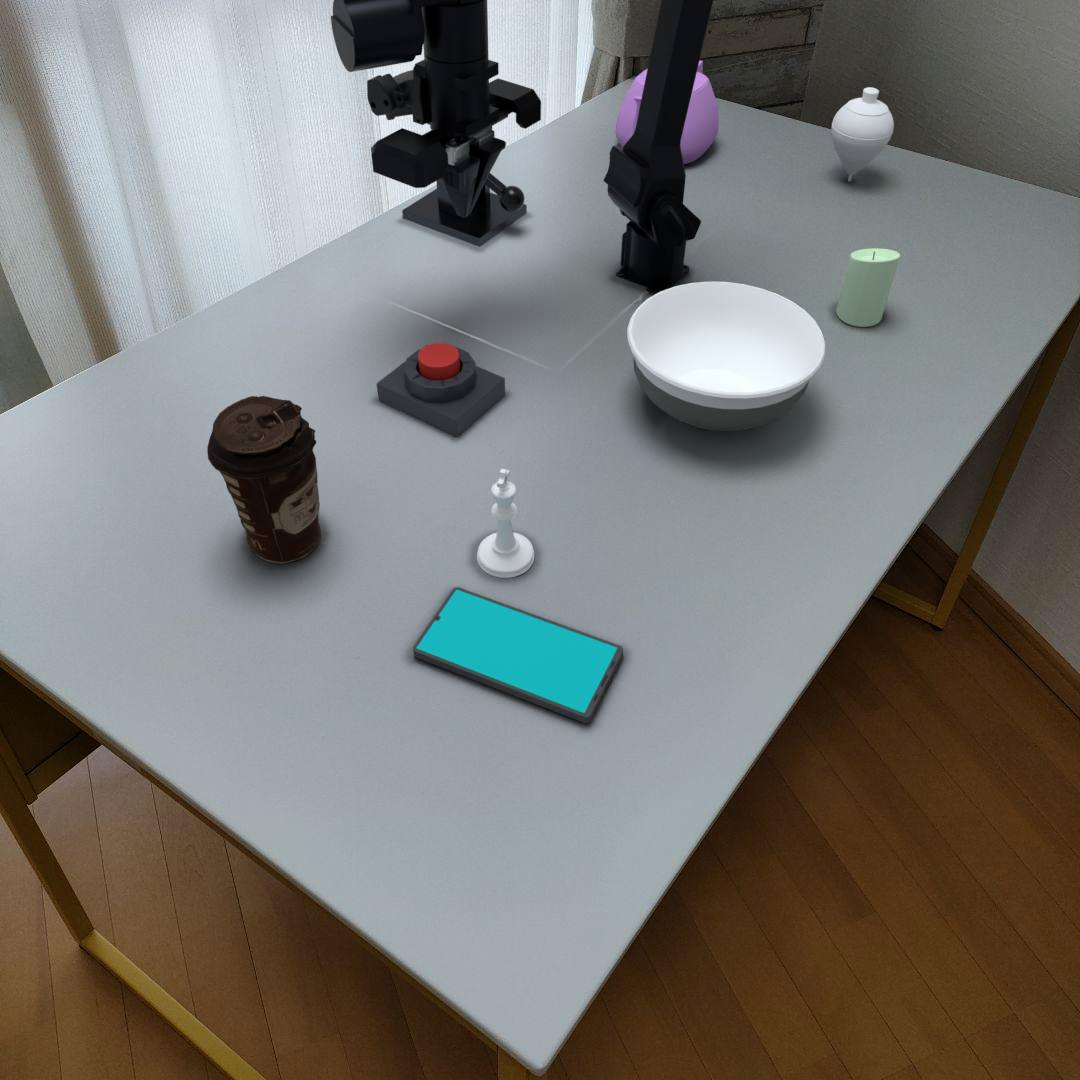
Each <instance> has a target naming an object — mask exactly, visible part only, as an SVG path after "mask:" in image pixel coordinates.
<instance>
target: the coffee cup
mask: <svg viewBox="0 0 1080 1080" xmlns="http://www.w3.org/2000/svg"><path fill="white" fill-rule="evenodd" d="M302 410H303V408H302V407H301V406H300V405H298V404H295V403H293V402H292V400H289V399H288V400H287V399H282V398H281V399H280V398H275V397H271V396H266V395H261V396H257V395H252V396H251V395H250V396H248V397H245V398H241V399H240V400H237V401H236V402H233V403H232V404H230V405H228V406H226V408H224V409H222V410H221V412H219V414H218V415H217V416H216V418H215V419H214V421H213V424H212V430H211V433H210V436H209V440H208V444H207V447H206V449H207V453H206V454H207V460H208V461H209V462H210V464H211V466H212V467H213V468H214V469H215V470H216V471H218V472H219V473H220V475H221V476H222V478H223V481H224V483H225V485H226V489H227V492H228V493H229V494H230V496H231V498H232V502H233V504H234V506H235V507H236V511H237V514H238V517H239V519H240V524H241V526H242V528H243V529H244V531H245V534H246V543H247V545H248V548H249V549H250V550H251V551H252V552H253V553H254V554H255V555H256V556H257V557H258V558H260V559H261V560H263V561H266V562H268V563H274V564H287V563H291V562H294V561H297V560H298V561H299V560H300V559H303V558H305V557H306V556H308V555H309V554H311V553H312V551H314V550H315V548H316V547H317V546H318V545H319V543H320V541H321V537H322V529H321V524H320V521H319V520H320V519H319V513H320V508H321V507H320V506H321V504H320V503H321V502H320V492H319V486H318V483H319V482H318V479H319V478H318V467H317V458H316V454H315V453H314V447H315V446H316V445H317V440H316V435H315V433H316V429H314V428H312V427H310V423H309V421H307V420H306V419H305V418H303V417H302Z"/></svg>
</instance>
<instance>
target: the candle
mask: <svg viewBox="0 0 1080 1080" xmlns="http://www.w3.org/2000/svg"><path fill="white" fill-rule="evenodd" d="M900 258H901V254H900V253H899V252H898V251H896V250H894V249H893V250H892V249H887V248H877V247H876V248H875V247H874V248H863V249H857V250H855V251H853V252H851V253H850V255H849V259H848V263H847V265H846V266H847V267H846V269H845V273H844V278H843V282H842V286H841V290H840V294H839V297H838V302H837V305H836V309H835V313H836V315H837V317H838V318H839V320H840V321H842V322H843V323H846V324H847V325H850V326H853V327H858V328H868V327H873V326H876V325H877V324H879V323H881V320H882V318H883V315H884V312H885V308H886V305H887V302H888V299H889V295H890V291H891V289H892V286H893V281H894V278H895V275H896V272H897V269H898V265H899V261H900Z"/></svg>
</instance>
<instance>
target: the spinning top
mask: <svg viewBox="0 0 1080 1080" xmlns="http://www.w3.org/2000/svg"><path fill="white" fill-rule="evenodd" d="M879 93H880V90H879V89H877V88H875V87H872V86H871V87H869V86H867V87H865V88H863V90H862V96H861V97H855V98H852V99H850V100H848V101H847V103H845V104H844V105H843V106H841V107H840V109H838V111H837V112H836V113H835V115H834V117H833V119H832V122H831V128H830V132H831V133H830V134H831V139H832V143H833V146H834V150H835V152H836V154H837V156H838V159H839V161H840V163H841V165H842V167H843V169H844V170H845V172H846V173H847V174H848V179H847V181H848V182H852V178H853V176H854V175H856V174H857V173H859V172H860V171H861V170H863V169H864V168H865V167H866V166H867V165H868V164H870V163H871V162H872V161H873V160H874V159H875V158H877V156H878V155H880V153H881V152H882V151H883V150H884V148H885V147H886V146H887V145H888V144H889V142H890V141H891V139H892V136H893V134H894V127H895V123H894V117H893V115H892V113H891V110H890V108H889V107H888V105H887V104H886V103H885V102H883V101H881V100H879V99H878V97H879Z"/></svg>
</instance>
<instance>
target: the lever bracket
mask: <svg viewBox="0 0 1080 1080" xmlns="http://www.w3.org/2000/svg"><path fill="white" fill-rule="evenodd" d="M435 183H436V188H435V189H434V190H432V191H430V192H429V193H426V195H424V196H422V197H421V198H418V200H416V201H414V202H413V203H412V204H409V205H408V206H407V207H405V208H403V209H402V210H401V213H402V219H404V220H406V221H409V222H411V223H415V224H418V225H420V226H422V227H425V228H428V229H431V230H433V231H436V232H438V233H442V234H444V235H447V236H450V237H452V238H454V239H458V240H461V241H462V242H466V243H468V244H470V245H473V246H476V247H479V248H480V247H482V246H483V245H484V244H486V243H487V242H489V241H490V240H491V239H493V238H494V237H495V236H497V235H498V234H500V233H501V232H502V231H503V230H505V229H506V228H508V227H509V226H510V225H512V224H513V223H514V222H516V221H517V220H519V219H520V218H521V217H523V216H525V215H526V214H527V212H528V209H527V207H528V205H527V204H525V203H524V204H523V206H522V208H521V209H520V210H518V211H516V212H508V211H506V210H505V209H503V207H502V206H501V204H500V199H499V198H500V196H498V195H497V194H496V193H493V192H491V189H490V188H489V187H488V186H486V185H485V184H484V185H483V187H482V190H481V192H480V194H479V196H478V198H477V200H476V203H475V205H474V207H473V209H472V211H471V213H470V215H468V216H467V217H465V218H464V217H461V216H459V215H457V213H456V211H455V209H454V206H453V204H452V202H451V200H450V197H449V195H448V193H447V190H446V188H445V186H444V183H443V181H442V179H441V178H440V179H439V180H437V181H435Z"/></svg>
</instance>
